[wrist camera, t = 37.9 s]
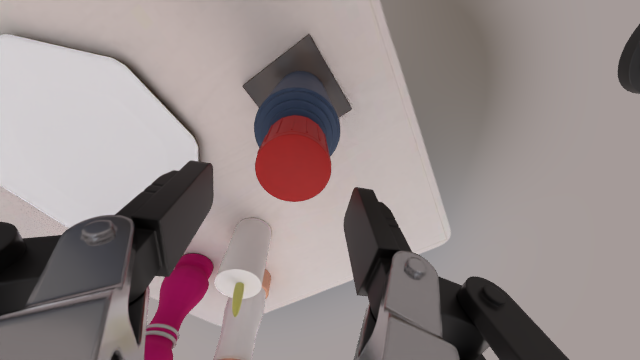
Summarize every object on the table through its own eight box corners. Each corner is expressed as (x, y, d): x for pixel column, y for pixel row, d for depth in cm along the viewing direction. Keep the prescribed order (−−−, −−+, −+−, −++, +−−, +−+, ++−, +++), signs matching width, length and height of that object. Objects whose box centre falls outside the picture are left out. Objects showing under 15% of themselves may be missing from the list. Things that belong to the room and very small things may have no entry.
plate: (123, 253, 42) (118, 260, 40) (-71, 127, 29) (-89, 131, 28) (241, 180, 35) (239, 185, 34) (56, -18, 23) (41, -22, 22)
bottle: (308, 59, 27) (310, 75, 10) (335, 105, 30) (373, 178, 13) (265, 90, 29) (206, 149, 12) (295, 132, 32) (282, 228, 15)
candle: (227, 222, 39) (188, 308, 26) (264, 214, 39) (242, 297, 26) (242, 248, 42) (214, 336, 29) (276, 240, 42) (262, 327, 29)
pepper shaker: (273, 287, 48) (255, 412, 32) (238, 290, 48) (202, 417, 31) (267, 263, 45) (244, 390, 28) (229, 266, 45) (183, 395, 28)
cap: (290, 181, 16) (286, 213, 13) (252, 137, 15) (237, 162, 11) (337, 151, 15) (345, 178, 12) (303, 101, 14) (301, 117, 11)
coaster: (309, 34, 27) (309, 33, 26) (351, 108, 31) (352, 109, 30) (243, 85, 29) (242, 86, 28) (291, 147, 33) (290, 149, 33)
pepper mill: (173, 271, 44) (86, 413, 27) (180, 246, 41) (88, 388, 24) (210, 280, 46) (153, 419, 29) (220, 257, 43) (162, 397, 26)
